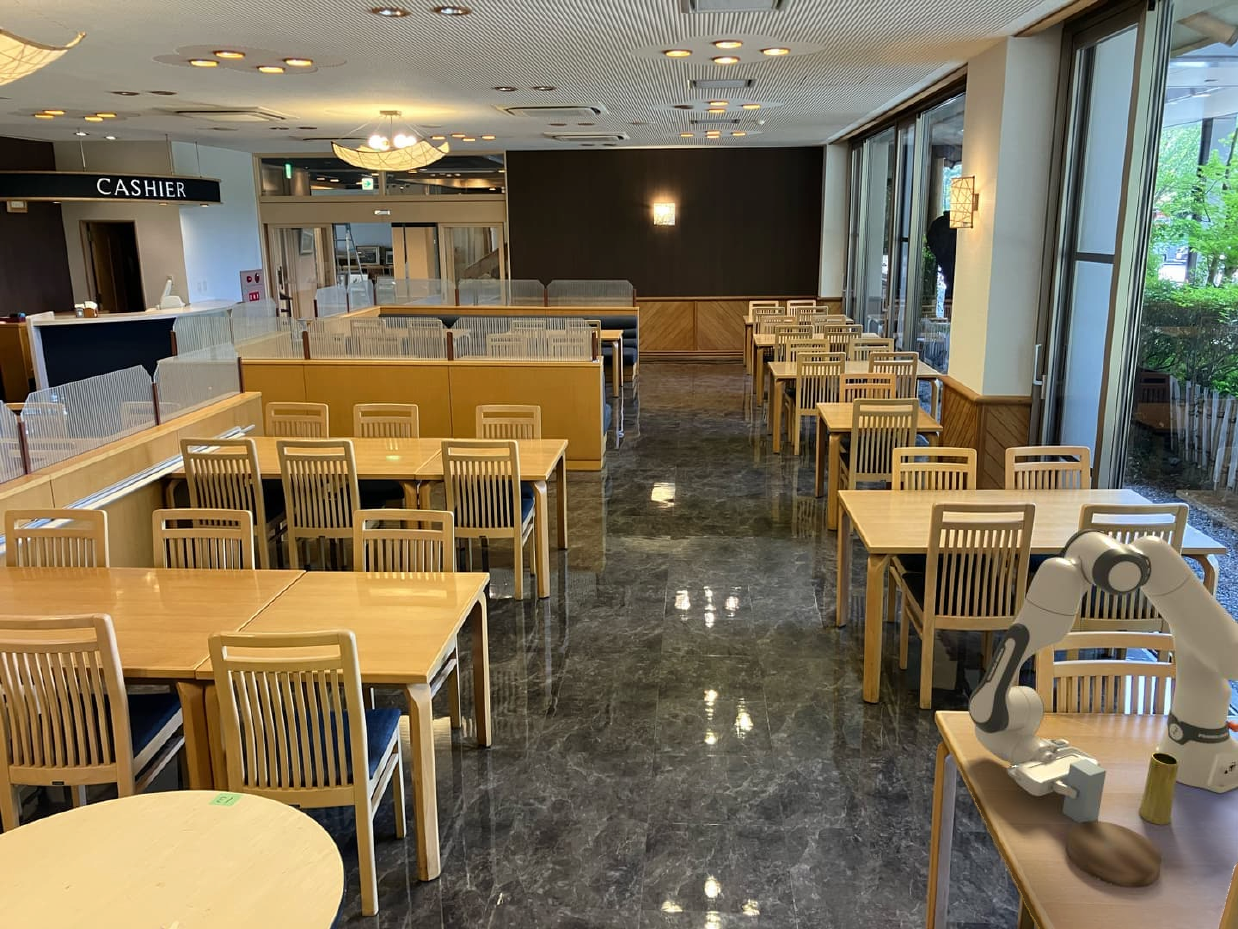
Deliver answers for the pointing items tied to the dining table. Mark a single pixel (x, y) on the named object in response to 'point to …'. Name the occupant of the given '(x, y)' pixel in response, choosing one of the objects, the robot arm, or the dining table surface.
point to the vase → (1159, 788)
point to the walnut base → (1113, 854)
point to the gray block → (1084, 791)
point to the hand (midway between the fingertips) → (1087, 791)
